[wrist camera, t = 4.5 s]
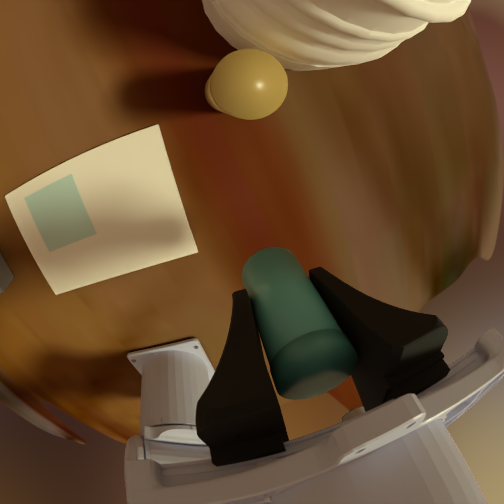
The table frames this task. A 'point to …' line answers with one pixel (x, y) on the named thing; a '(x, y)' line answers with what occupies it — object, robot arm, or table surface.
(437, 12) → the honey pot
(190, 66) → the table surface
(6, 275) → the button box
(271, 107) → the ball
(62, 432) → the table surface
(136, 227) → the paper sheet
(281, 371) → the teal marker
